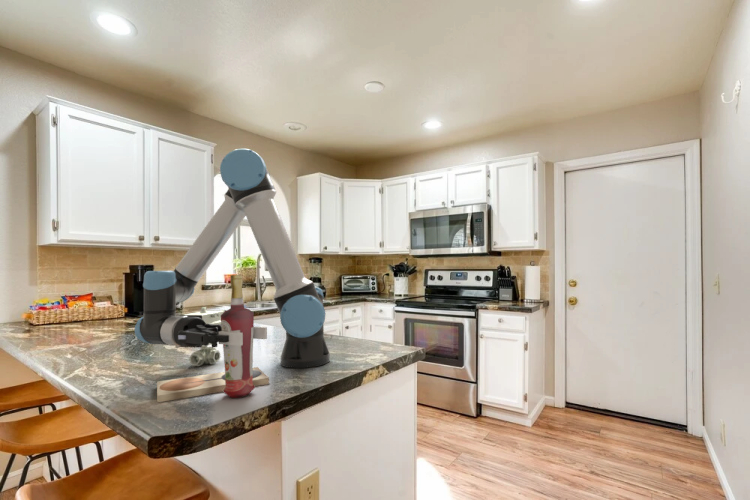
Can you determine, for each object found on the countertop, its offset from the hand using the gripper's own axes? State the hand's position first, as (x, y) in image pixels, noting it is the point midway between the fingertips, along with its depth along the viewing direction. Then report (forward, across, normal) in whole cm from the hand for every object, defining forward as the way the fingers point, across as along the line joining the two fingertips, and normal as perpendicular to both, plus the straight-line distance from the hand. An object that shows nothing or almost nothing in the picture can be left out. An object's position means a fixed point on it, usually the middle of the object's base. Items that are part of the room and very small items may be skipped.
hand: (254, 336), depth 89 cm
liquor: (-5, 0, -14) cm, 15 cm away
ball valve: (-39, -20, -14) cm, 46 cm away
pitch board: (-17, -4, -14) cm, 22 cm away
